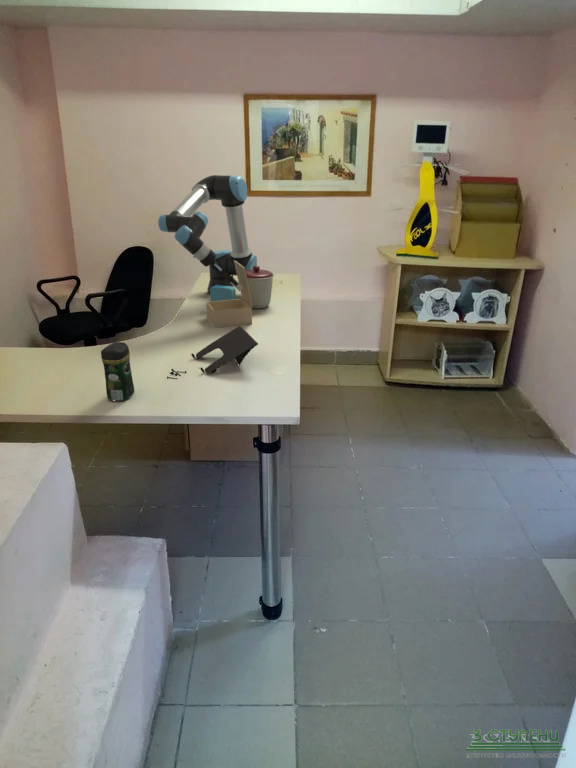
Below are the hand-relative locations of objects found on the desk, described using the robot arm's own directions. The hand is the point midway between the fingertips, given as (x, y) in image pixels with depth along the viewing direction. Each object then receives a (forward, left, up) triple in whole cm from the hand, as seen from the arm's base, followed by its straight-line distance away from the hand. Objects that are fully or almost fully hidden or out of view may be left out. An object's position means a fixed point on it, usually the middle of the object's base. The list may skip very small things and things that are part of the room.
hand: (241, 289), depth 266 cm
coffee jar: (+70, -62, -15) cm, 95 cm away
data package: (-20, -4, -15) cm, 25 cm away
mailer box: (-1, -6, -15) cm, 16 cm away
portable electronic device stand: (+52, -22, -15) cm, 58 cm away
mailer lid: (-1, +1, +3) cm, 3 cm away
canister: (-21, +14, -15) cm, 29 cm away
